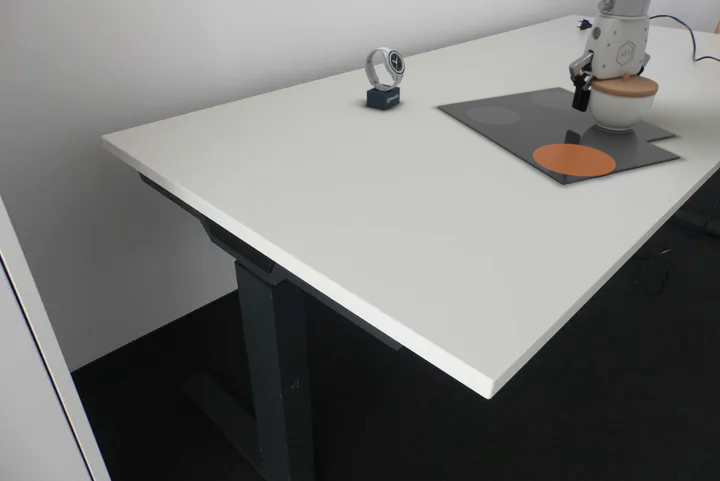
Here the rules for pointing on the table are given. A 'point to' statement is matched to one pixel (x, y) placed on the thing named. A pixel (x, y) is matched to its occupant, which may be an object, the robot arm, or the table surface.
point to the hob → (557, 129)
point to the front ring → (574, 160)
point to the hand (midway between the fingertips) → (599, 106)
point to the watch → (382, 93)
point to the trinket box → (621, 101)
